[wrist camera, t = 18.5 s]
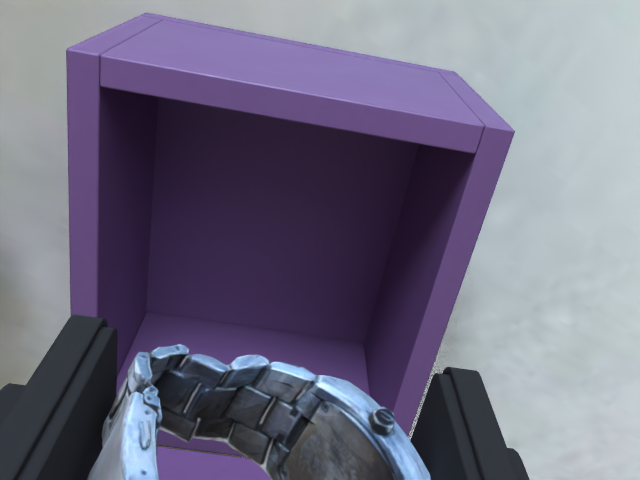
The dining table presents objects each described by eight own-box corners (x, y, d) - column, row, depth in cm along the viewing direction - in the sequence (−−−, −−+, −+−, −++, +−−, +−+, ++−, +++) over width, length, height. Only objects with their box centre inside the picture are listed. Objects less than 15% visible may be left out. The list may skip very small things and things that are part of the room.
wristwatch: (238, 400, 13) (390, 605, 10) (-1, 446, 9) (151, 804, 6) (306, 293, 12) (493, 487, 9) (77, 289, 8) (293, 630, 5)
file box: (145, 12, 25) (65, 47, 17) (455, 71, 26) (515, 130, 18) (132, 312, 33) (72, 435, 25) (376, 348, 34) (394, 476, 26)
